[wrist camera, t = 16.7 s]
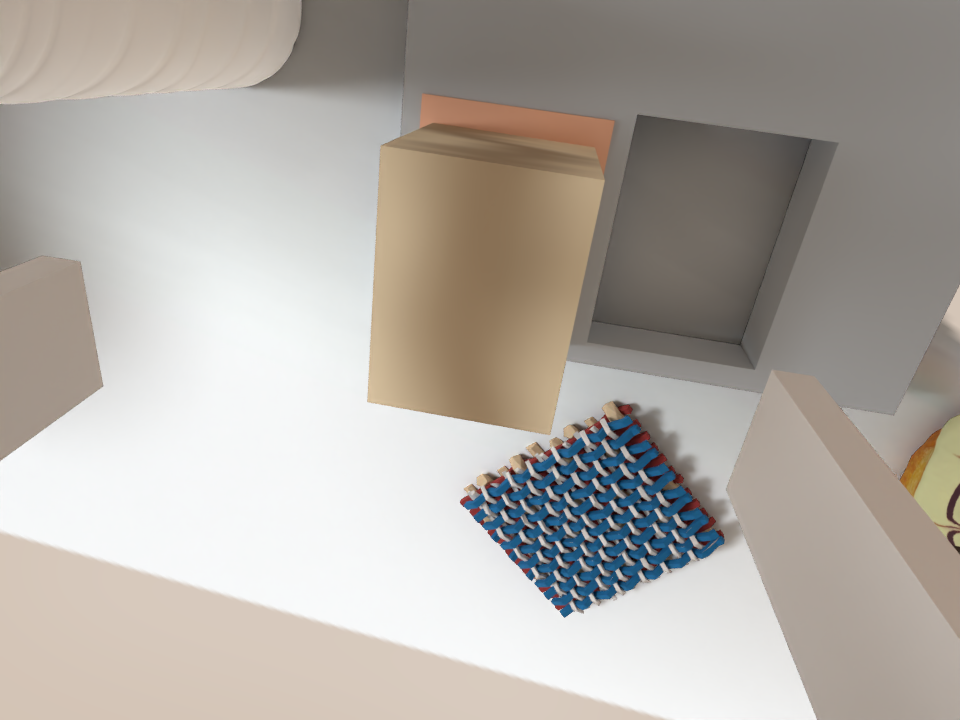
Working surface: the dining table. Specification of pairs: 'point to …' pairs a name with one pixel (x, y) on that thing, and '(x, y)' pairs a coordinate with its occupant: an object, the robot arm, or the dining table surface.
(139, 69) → the water bottle
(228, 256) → the dining table surface
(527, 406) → the block
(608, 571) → the woven mat
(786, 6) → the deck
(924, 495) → the decorated donut
